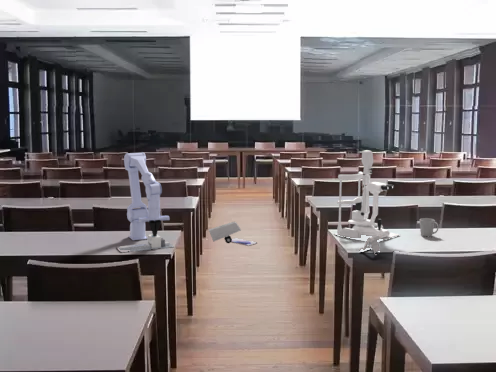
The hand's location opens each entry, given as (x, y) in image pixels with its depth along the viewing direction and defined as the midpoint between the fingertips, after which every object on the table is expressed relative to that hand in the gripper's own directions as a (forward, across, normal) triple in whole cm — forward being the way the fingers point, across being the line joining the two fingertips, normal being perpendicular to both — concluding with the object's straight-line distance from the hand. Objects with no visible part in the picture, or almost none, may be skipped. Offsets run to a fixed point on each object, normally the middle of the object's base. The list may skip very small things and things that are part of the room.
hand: (154, 235), depth 285 cm
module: (+5, 0, 0) cm, 5 cm away
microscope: (+6, +108, -24) cm, 111 cm away
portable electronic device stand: (+6, +89, -53) cm, 104 cm away
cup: (+6, +137, -38) cm, 142 cm away
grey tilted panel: (+3, +28, -5) cm, 28 cm away
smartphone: (+6, +42, -10) cm, 44 cm away
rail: (+5, -5, 0) cm, 7 cm away
